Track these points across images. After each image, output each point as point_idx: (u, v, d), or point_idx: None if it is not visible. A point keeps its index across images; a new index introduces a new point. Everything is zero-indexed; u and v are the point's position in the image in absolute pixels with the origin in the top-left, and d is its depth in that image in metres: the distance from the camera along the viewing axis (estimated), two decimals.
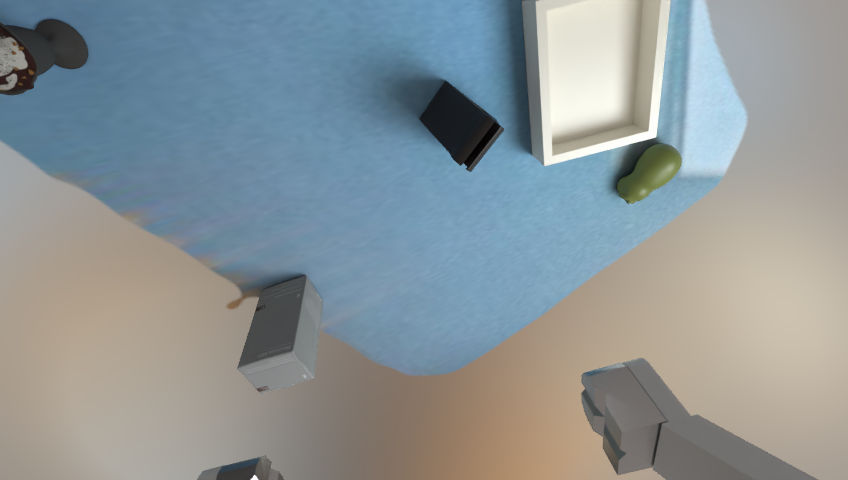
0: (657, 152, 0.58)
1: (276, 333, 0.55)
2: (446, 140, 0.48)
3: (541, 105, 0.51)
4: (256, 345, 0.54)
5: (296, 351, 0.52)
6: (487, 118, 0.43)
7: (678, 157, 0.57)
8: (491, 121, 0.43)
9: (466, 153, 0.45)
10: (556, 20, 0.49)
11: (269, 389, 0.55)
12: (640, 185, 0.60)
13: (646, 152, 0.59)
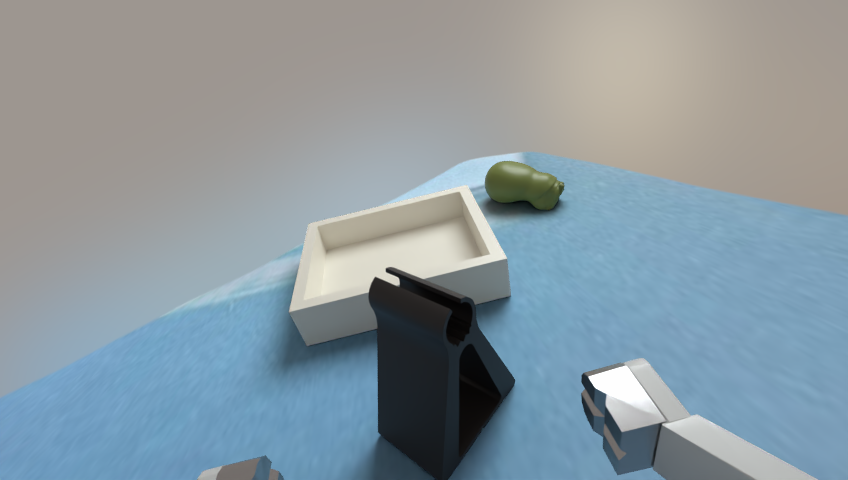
0: (491, 184, 0.50)
1: None
2: (437, 379, 0.23)
3: None
4: None
5: None
6: (370, 290, 0.24)
7: (492, 166, 0.52)
8: (374, 281, 0.25)
9: (426, 305, 0.22)
10: None
11: None
12: (533, 180, 0.48)
13: (496, 196, 0.51)
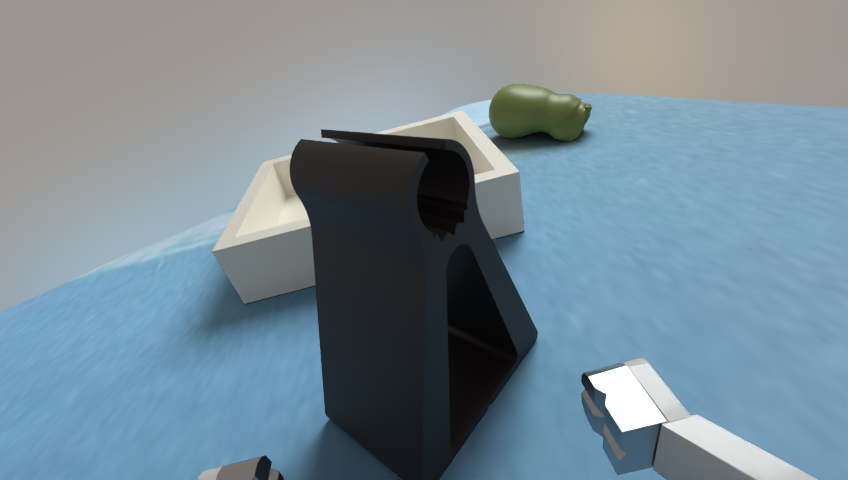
0: (497, 111, 0.40)
1: None
2: (406, 307, 0.13)
3: None
4: None
5: None
6: (292, 161, 0.14)
7: None
8: (298, 146, 0.14)
9: (380, 158, 0.11)
10: None
11: None
12: (551, 102, 0.38)
13: (504, 127, 0.40)
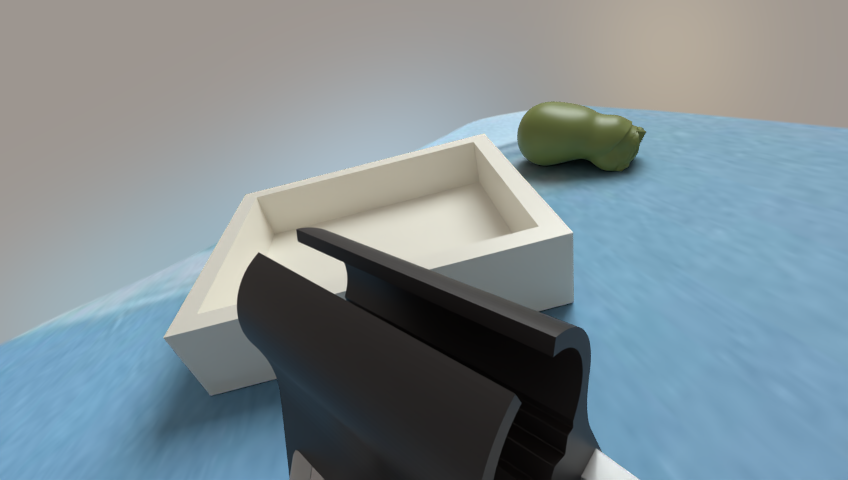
0: (529, 135, 0.33)
1: None
2: None
3: None
4: None
5: None
6: (241, 295, 0.08)
7: None
8: (252, 267, 0.08)
9: (403, 364, 0.05)
10: None
11: None
12: (597, 125, 0.31)
13: (538, 153, 0.33)
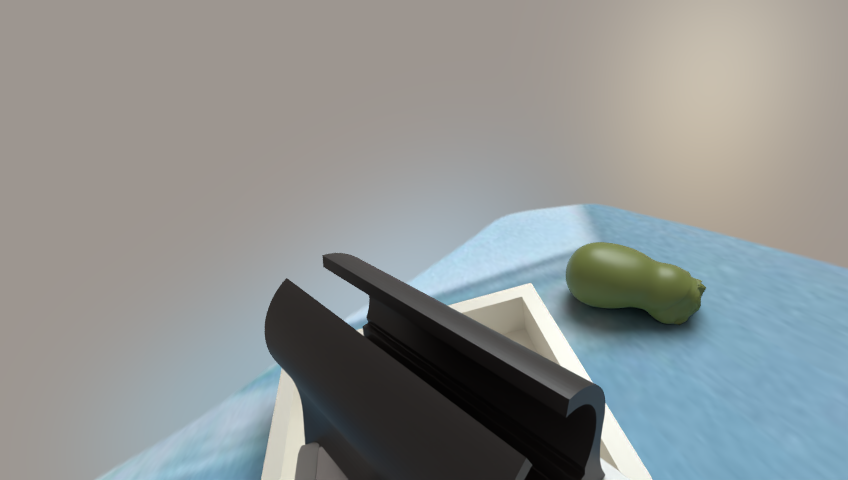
0: (583, 283, 0.32)
1: None
2: None
3: None
4: None
5: None
6: (269, 319, 0.08)
7: (578, 251, 0.33)
8: (280, 293, 0.08)
9: (420, 412, 0.05)
10: None
11: None
12: (655, 281, 0.30)
13: (591, 300, 0.32)
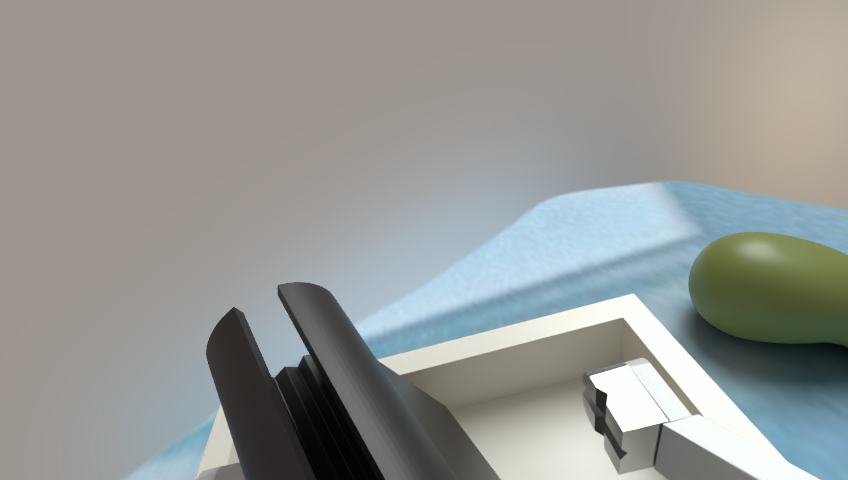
0: (738, 301, 0.19)
1: None
2: None
3: None
4: None
5: None
6: (210, 345, 0.08)
7: (717, 246, 0.20)
8: (224, 323, 0.08)
9: None
10: None
11: None
12: None
13: (748, 330, 0.19)
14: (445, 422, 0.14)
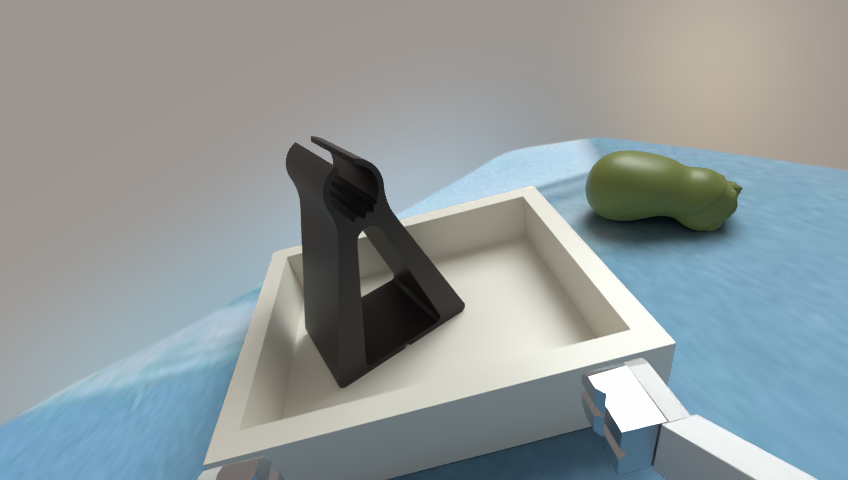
0: (607, 190, 0.29)
1: None
2: (332, 261, 0.20)
3: (477, 393, 0.16)
4: None
5: None
6: (287, 156, 0.22)
7: (599, 160, 0.31)
8: (292, 147, 0.22)
9: (318, 165, 0.18)
10: None
11: None
12: (687, 181, 0.28)
13: (615, 210, 0.30)
14: None
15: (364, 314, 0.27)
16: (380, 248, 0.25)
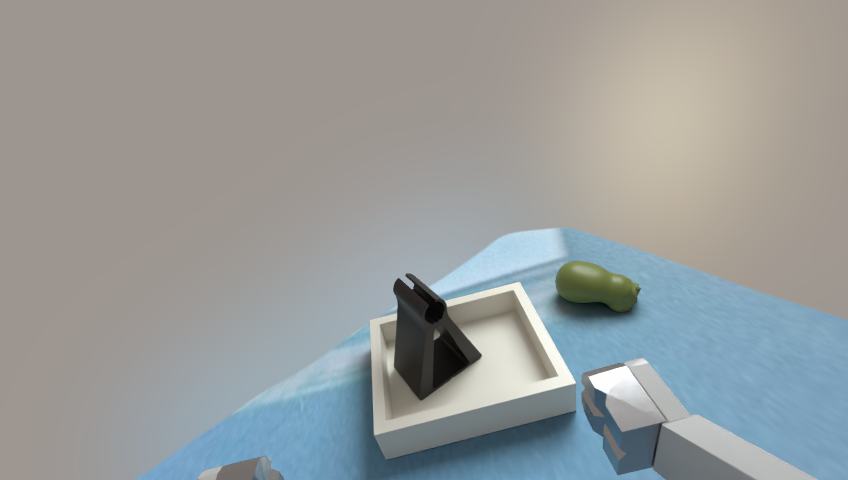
0: (566, 287, 0.51)
1: None
2: (421, 340, 0.42)
3: (491, 404, 0.38)
4: None
5: None
6: (394, 285, 0.44)
7: (563, 267, 0.52)
8: (397, 280, 0.44)
9: (418, 299, 0.40)
10: (407, 413, 0.43)
11: None
12: (610, 285, 0.49)
13: (571, 298, 0.51)
14: None
15: None
16: None
